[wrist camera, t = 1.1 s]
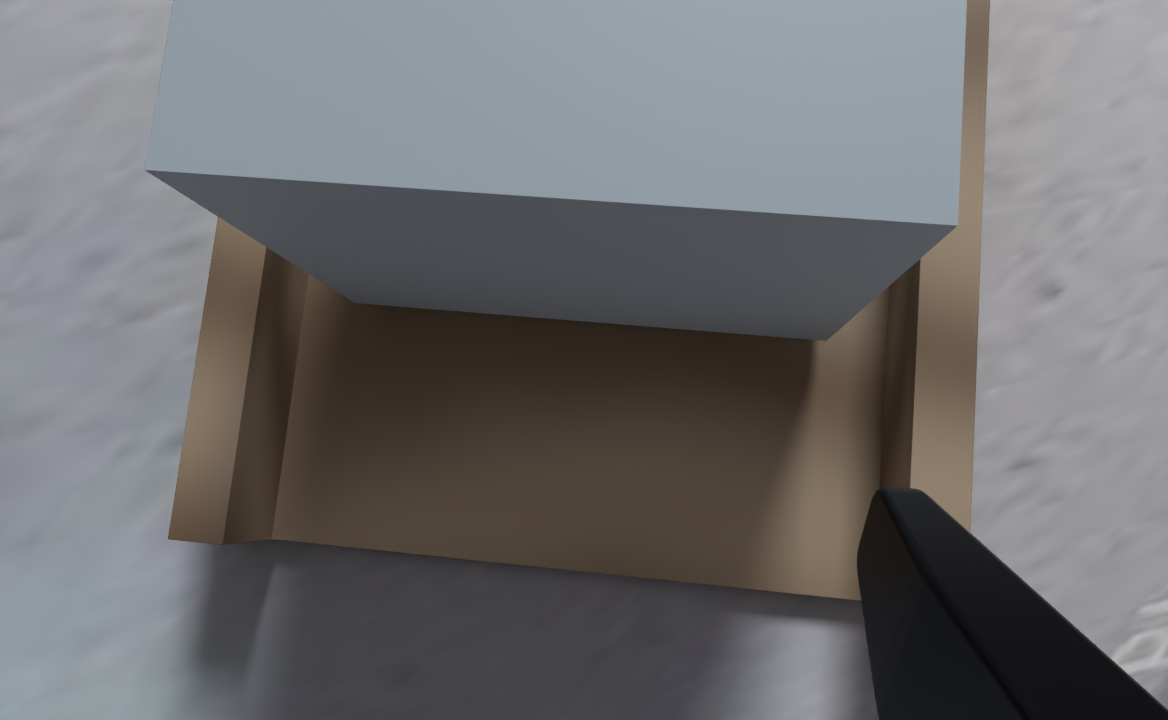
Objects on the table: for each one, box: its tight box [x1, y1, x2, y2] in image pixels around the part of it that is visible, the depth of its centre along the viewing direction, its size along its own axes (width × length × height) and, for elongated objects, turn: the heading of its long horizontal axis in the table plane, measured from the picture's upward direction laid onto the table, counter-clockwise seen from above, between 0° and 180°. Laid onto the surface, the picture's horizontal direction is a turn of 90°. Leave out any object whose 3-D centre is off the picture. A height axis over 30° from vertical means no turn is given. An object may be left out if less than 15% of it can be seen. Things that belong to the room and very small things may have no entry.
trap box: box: [168, 0, 990, 601], centre depth 21 cm, size 23×16×5 cm
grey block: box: [145, 0, 967, 341], centre depth 17 cm, size 5×11×9 cm, turn 84°
